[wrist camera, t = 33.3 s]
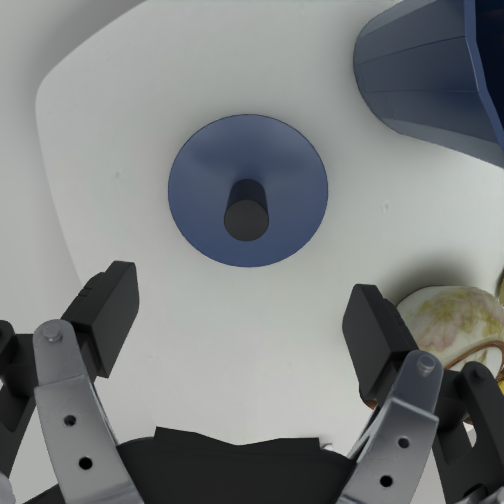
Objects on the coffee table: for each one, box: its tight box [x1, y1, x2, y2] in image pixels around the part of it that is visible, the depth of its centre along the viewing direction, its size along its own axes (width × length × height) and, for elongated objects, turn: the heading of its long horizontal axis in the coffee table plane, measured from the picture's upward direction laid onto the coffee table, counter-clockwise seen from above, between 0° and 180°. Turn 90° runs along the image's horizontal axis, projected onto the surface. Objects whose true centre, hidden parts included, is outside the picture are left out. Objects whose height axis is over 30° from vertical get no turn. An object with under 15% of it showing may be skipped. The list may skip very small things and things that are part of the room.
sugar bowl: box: [359, 286, 504, 425], centre depth 22 cm, size 20×15×15 cm
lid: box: [168, 114, 328, 267], centre depth 20 cm, size 12×12×6 cm
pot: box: [353, 0, 504, 169], centre depth 12 cm, size 11×11×14 cm
